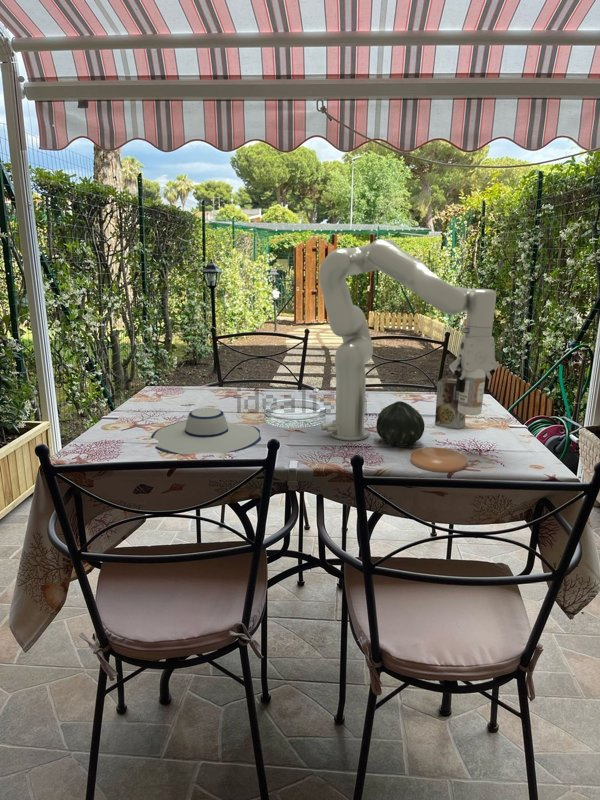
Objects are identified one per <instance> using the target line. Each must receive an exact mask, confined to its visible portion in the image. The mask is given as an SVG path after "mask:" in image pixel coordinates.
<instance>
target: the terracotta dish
mask: <svg viewBox="0 0 600 800" xmlns="http://www.w3.org/2000/svg"><path fill="white" fill-rule="evenodd" d="M409 458H410V460H409V461H410V463H411V464H412V465H413V466H415V467H417V468H419V469H422V470H425V471H429V472H436V473H455V472H460V471H462V470H464V469H466V468H467V466H468V458H467V456H466V455H465V454H463V453H462V452H459V451H457V450H454V449H450V448H444V447H433V446H430V447H420V448H416V449H415V450H413V451H411V452H410V457H409Z"/></svg>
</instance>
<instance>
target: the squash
mask: <svg viewBox="0 0 600 800" xmlns="http://www.w3.org/2000/svg"><path fill="white" fill-rule="evenodd" d="M377 416H378V417H377V419H376V427H375V428H376V433H377V434H378V436H379V437H380V438H381V439H382V440H383V441H385V442H387V444H389V446H392V447H394V446H398V447H400V448H402V447H405V446H409V447H410V446H414V445H415V444H416V443H417V442H418V441H420V440H421V439H422V436H423V435H424V432H425V426H426V425H425V424H426V423H425V421H424V418H423V417H422V415H421V413H420V412H419V411H418V410H416V408H415V407H413V406H412V405H411V404H409V403H407V402H405V401H401V400H398V401H395V402H393V403H391V404H389V405H388V406H386V407H384V408H383V409H381V411H380V412H379V414H378V415H377Z"/></svg>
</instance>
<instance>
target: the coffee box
mask: <svg viewBox="0 0 600 800" xmlns="http://www.w3.org/2000/svg"><path fill="white" fill-rule="evenodd" d="M456 384H457V378H448V377H442V378H440V379H439V380H437V383H436V403H435V419H434V425H435V426H437V427H445V428H451V429H457V430H461V429H462V428H463V427H464V426H465V425H466V415H465V414H462V413H459V412H458V400H459V391H457V388H456Z"/></svg>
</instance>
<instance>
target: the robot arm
mask: <svg viewBox="0 0 600 800" xmlns="http://www.w3.org/2000/svg"><path fill="white" fill-rule="evenodd" d="M374 271H380V272H382V273H383V274H384V275H387V276H388V277H390V279H391V278H392V279H393V280H395V282H398V283H399V284H401V285H402V286H404V287H405V288H407V289H408V290H409V291H410V292H411V293H413V294H414V295H416V296H418V297H419V298H420V299H421V300H423V301H424V302H426V303H427V304H429V305H430V306H431V307H434V308H436V310H438V311H440V312H442V313H444V314H447V315H450V316H454V315H458V314H459V313H461V312H466V317H465V318H466V319H465V326H464V327H463V328H461V333H462V334H464V335H463V336H462V337H461V340H460V343H459V348H458V352H457V358H456V359H455V360H454V361H453V362H451V363H450V364H449V366H448V367H449V369H450V371H451V372H452V374H453V375H454V376H455V379H457V384H456V388H457V391H459V392H461V393H463V392H464V387H465V380H464V377H465V375H466V373H467V372H473V371H476V370H478V369H482V370H483V371H485V372H486V378H485V386H484V393H486V392H488V387H489V380H490V379H491V378H492V376H493V375H494V374H495V373H496V371H497V369H499V368H500V364H499V363H498V362H497V361H496V359H495V358H496V357H495V356H496V344H495V337H493V336H492V335H493V326H494V319H495V318H494V317H495V310H496V302H497V301H496V300H497V292H496V291H495V290H493V289H489V288H467V287H462V286H453V285H451V284H450V283H448V282H446V281H445V280H444V279H442V278H440V277H439V276H437V275H436V274H435V273H434V272H432V271H431V270H430V269H429V267H428V266H427V265H426V264H425V263H424V262H423V261H422V260H421V259H419V258H416V257H415V256H413V255H411V254H410V253H409V252H407V251H405V250H403V249H402V248H400V247H399V245H398V244H397V243H396V242H395V241H393V240H392V239H391V240H390V239H388V238H387V239H386V238H378V239H375V240H374V241H372V242H371V243H368V244H364V245H361V246H360V245H359V246H355V247H339V248H337V249H334V250H332V251H331V252H329V253H328V254H327V256H326V257H325V258H324V259H323V260H322V262H321V264H320V266H319V271H318V282H319V287H320V289H321V290H320V291H321V294H322V297H323V302H324V307H325V311H326V314H327V319H328V322H329V327H330V330H331V331H332V333H333V334H334V335H335V336H337V337H340V338H341V339H342V343H341V344H340V345H338V348H337V349H336V351H335V355H334V365H335V420H332V422H331V423H329V424H321V425H320V428H321V431H327V433H329V432H330V436H331V437H332V438H335V439H336V440H341V441H349V442H351V441H361V440H365V439H367V438H368V437H369V433H370V432H369V431H368V429H366V428H365V416H366V415H365V412H366V410H365V409H366V384H367V383H366V377H367V376H366V364H368V362H369V361H370V360H371V359H372V357H373V354H374V349H373V348H374V345H373V341H372V337H371V334H370V330H369V326H368V321H367V319H366V315H365V313H364V312H363V310H362V309H361V308H360V307H359V306H358V305H356V304H354V303H353V300H352V296H351V293H350V289H349V286H348V284H347V277H348V276H349V277H350V276H356V275H359V274H365V273H370V272H374Z"/></svg>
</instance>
